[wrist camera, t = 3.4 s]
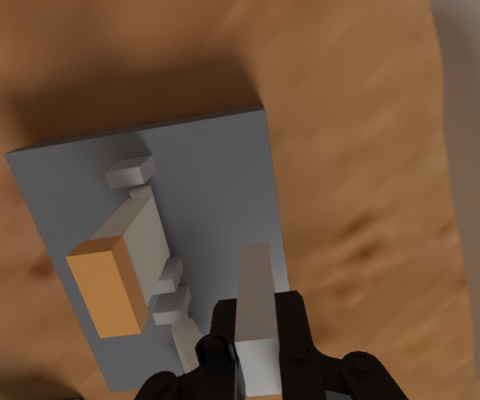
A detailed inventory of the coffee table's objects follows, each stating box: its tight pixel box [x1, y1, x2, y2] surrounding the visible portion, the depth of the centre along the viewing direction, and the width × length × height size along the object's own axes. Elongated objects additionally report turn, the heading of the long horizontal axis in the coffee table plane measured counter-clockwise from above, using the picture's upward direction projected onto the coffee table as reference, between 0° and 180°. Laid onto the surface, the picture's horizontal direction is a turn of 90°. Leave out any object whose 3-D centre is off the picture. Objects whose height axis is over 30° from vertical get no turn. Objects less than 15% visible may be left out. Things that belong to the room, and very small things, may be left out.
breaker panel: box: [4, 104, 289, 392], centre depth 29 cm, size 20×26×7 cm
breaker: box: [170, 314, 204, 374], centre depth 26 cm, size 2×6×10 cm
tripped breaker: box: [66, 185, 170, 338], centre depth 22 cm, size 2×6×10 cm, turn 9°
